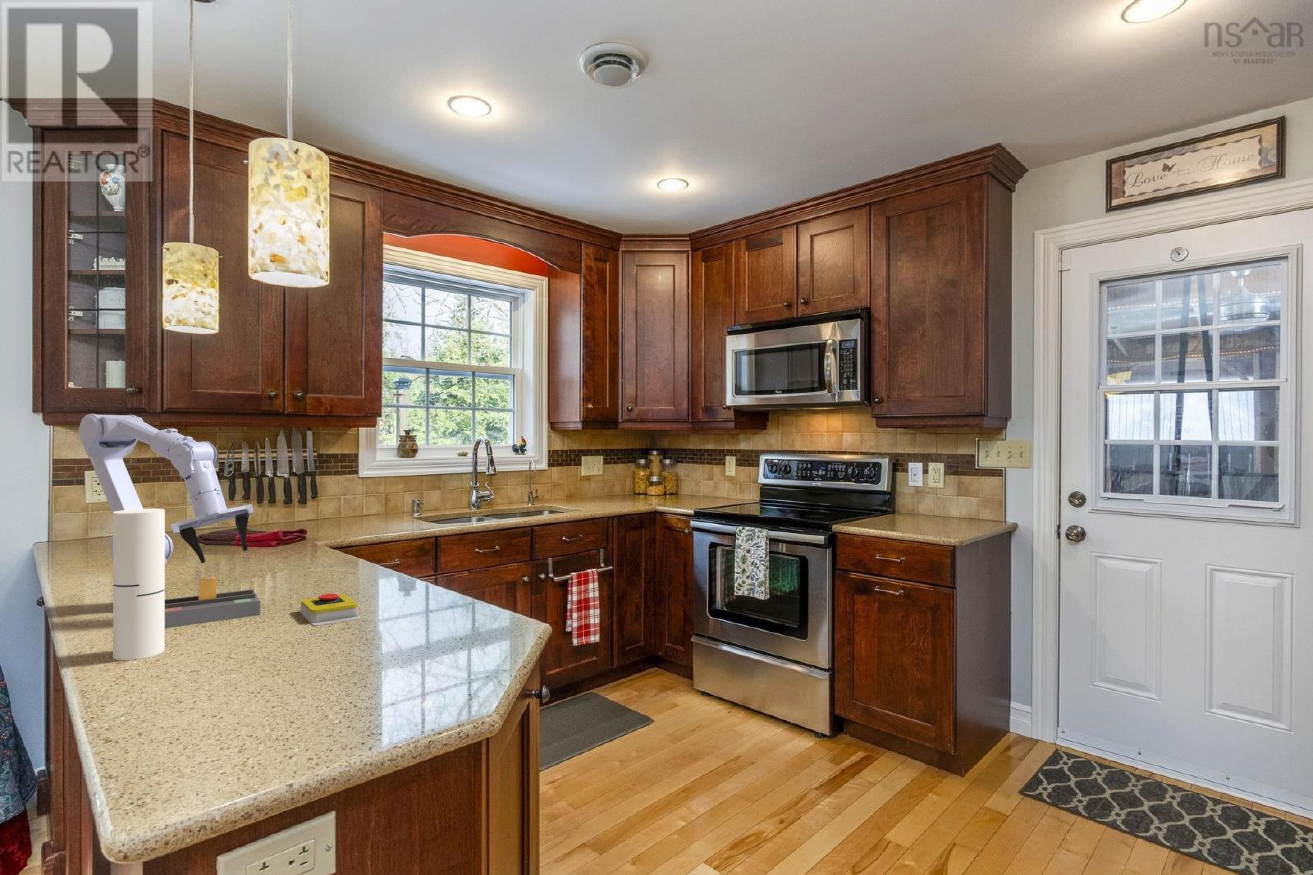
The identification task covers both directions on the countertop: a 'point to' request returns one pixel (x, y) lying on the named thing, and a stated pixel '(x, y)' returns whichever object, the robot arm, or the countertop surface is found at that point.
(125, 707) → the countertop surface
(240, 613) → the switch panel
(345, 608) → the emergency button
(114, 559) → the cylindrical container
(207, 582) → the knob
